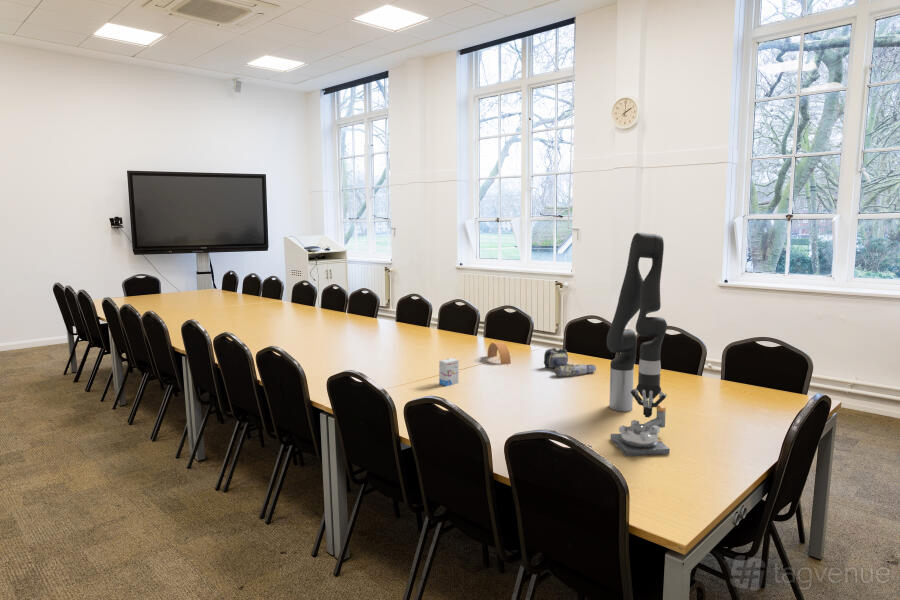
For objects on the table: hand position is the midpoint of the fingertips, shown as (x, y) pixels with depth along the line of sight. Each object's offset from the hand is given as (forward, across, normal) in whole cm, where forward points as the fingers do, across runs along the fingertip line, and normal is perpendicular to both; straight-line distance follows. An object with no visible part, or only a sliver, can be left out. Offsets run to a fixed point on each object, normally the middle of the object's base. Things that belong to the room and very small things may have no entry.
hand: (647, 416), depth 213 cm
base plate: (+6, 0, -15) cm, 16 cm away
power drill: (+7, -56, +66) cm, 87 cm away
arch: (+7, -97, +73) cm, 121 cm away
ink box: (+7, -97, +20) cm, 99 cm away
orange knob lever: (+4, +2, -10) cm, 11 cm away
